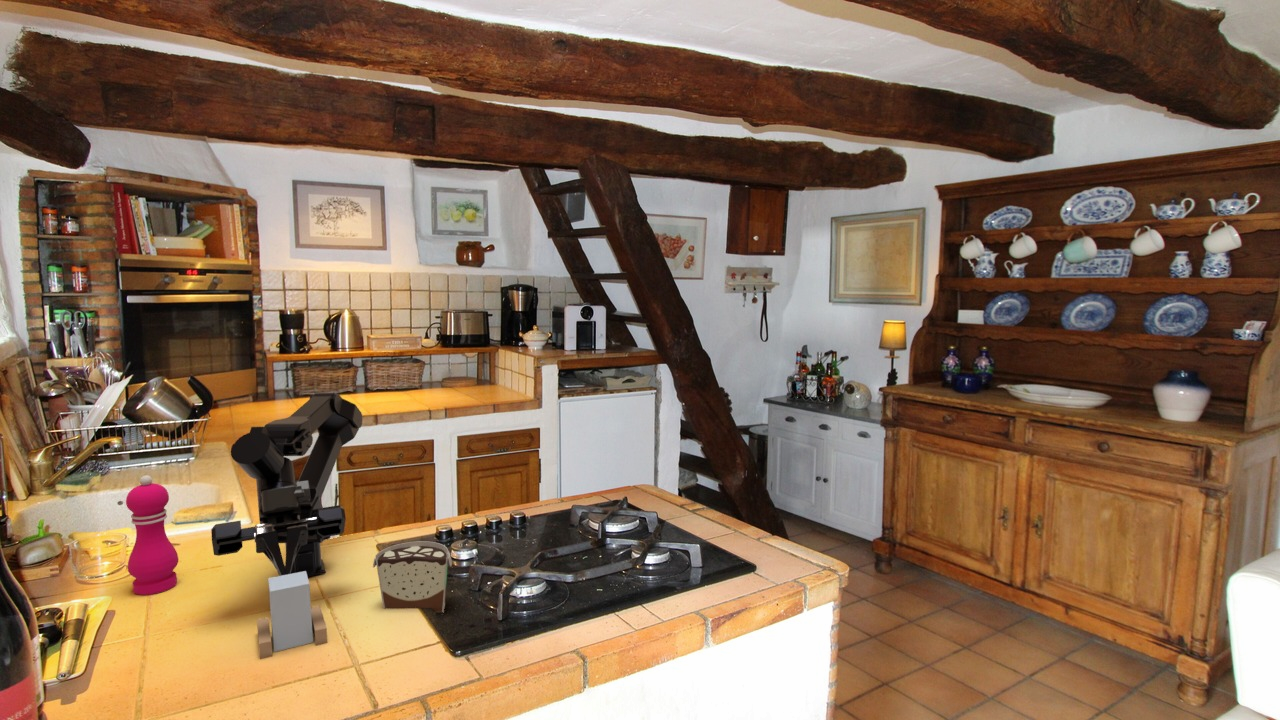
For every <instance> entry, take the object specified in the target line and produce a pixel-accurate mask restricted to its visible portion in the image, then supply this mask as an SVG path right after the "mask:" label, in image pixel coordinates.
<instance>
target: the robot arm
mask: <svg viewBox="0 0 1280 720" xmlns="http://www.w3.org/2000/svg"><path fill="white" fill-rule="evenodd" d="M362 426H363V414H362V411H361V410H360V409H359V408H358V406H357V404H355V403H353V402H351V401H349V400H346V399H344V398H342V396H341V395H340V394H339V393H336V392H316V393H312V394H310V396H309V399H308V400H307V401H306V402H305V403H304V404H302V406H300V407H299V408H298V409H296V410H295V412H293V413H292V414H291V415H290V416H288V417H285V418H280V419H275V420H273V421H270V422H268V423H265V425H264V426H251V427H250V430H249V432H248V433H246V434H243V435H242V436H240V437H239V438H238V439H237V440H235V442H234V443H233V444H232V446H231V448H230V456H231V458H232V460H233V461H234V462H236V464H237V465H238V466H239V468H241V469H242V470H243V471H244V472H245V474H247V475H248V476H249V477H250V478H252V479H254V480H255V481H256V483H255V484H256V491H257V494H256V495H257V504H258V508H257V509H258V520H259V524H258V523H257V524H255V525H254V526H250V527H244V528H242V522H241V519H240V520H235V521H229V522H223V523H222V522H221V523H216V524H214V526H213V527H212V528H211V531H210V533H211V543H212V550H213V555H214V556H218V557H219V556H225V555H230V554H236V553H238V552H240V550H242V548H243V542H248V541H253V540H254V543H255V552H256V554H264V555H265V556H266V557H267V559H268V560H269V561H270V562H271V564H273V567H274V569H275V570H276V572H277V573H278V576H282V575H287V574H293V573H298V572H303V571H306V573H307V577H312V576H318V575H323V574H326V572H327V570H326V567H325V563H324V560H323V558H322V551H321V550H322V549H321V543H323V542H324V541H325V540H329V539H330V538H331V537H334V536H340V535H341V534H344V532H345V527H346V518H347V517H346V512H345V508H344V507H343V506H342V505H340V504H338V505H331V506H326V507H325V506H323V504H322V501H321V499H322V497H323V494H324V491H325V489H326V486H327V484H328V481H329V479H330V476H331V474H332V472H333V470H334V468H335V465H336V462H337V459H338V458H339V455H340V452H341V450H342V447H343V446H344V445H346V444H347V443H349V442H350V441H353V440H354V438H355V437H356V435H357V433H358V431H359V429H361V427H362ZM316 431H317V434H318V436H317V438H316V440H315V442H314V445H313V441H314V437H313V434H314V433H315V432H316ZM312 445H313V447H312V449H311V451H310V454H309V456H308V458H307V460H306V463H305V464H304V467H303V468H302V469H303V470H302V471H301V474H300V476H299V478H298V480H297V481H296V476H295V475H296V472H295V467H294V463H293V461H292V460H291V458H288V457H304V456H305V455H306V454H307V452H308V451H309V450H310V448H311V446H312ZM280 544H284V545H285V563H284V560H283V559H284V558H283V556H282V551H281V548H280V547H281V546H280Z"/></svg>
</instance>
